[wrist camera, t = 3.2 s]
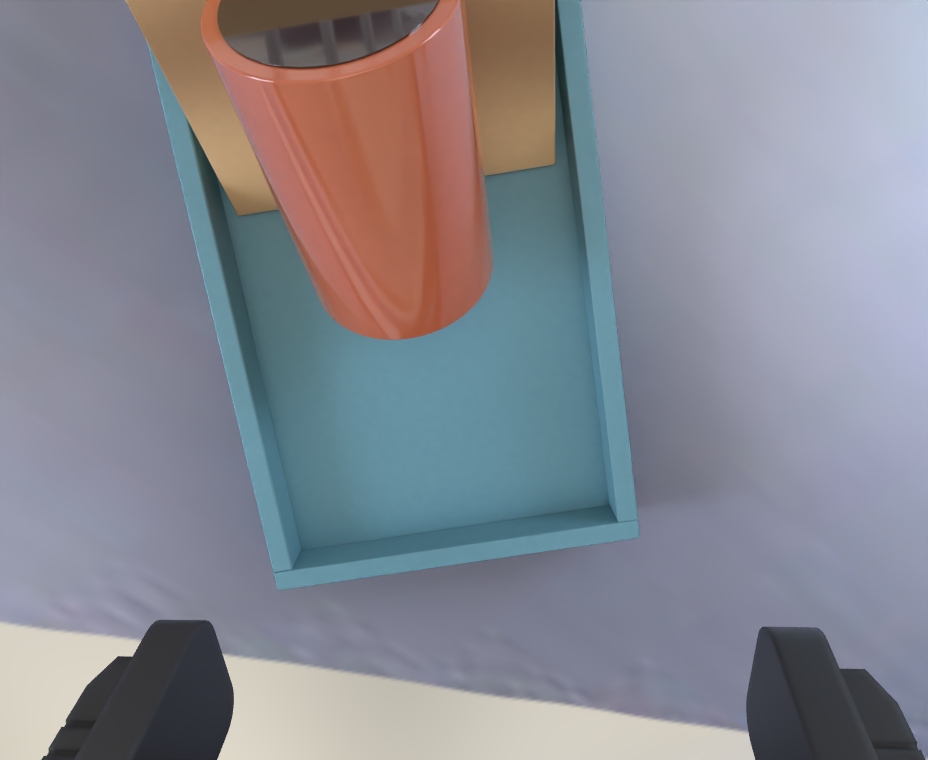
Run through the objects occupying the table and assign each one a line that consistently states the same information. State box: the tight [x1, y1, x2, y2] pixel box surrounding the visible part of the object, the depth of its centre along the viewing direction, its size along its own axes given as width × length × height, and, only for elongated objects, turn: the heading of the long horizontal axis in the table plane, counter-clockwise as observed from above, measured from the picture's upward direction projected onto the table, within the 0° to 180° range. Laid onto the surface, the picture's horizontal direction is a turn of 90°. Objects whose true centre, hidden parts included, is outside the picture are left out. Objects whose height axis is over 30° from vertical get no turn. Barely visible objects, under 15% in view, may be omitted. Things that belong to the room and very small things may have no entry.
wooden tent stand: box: [125, 0, 556, 216], centre depth 23 cm, size 10×12×9 cm
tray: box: [147, 0, 640, 590], centre depth 28 cm, size 26×15×3 cm, turn 9°
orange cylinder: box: [201, 0, 494, 340], centre depth 22 cm, size 12×6×12 cm, turn 9°
